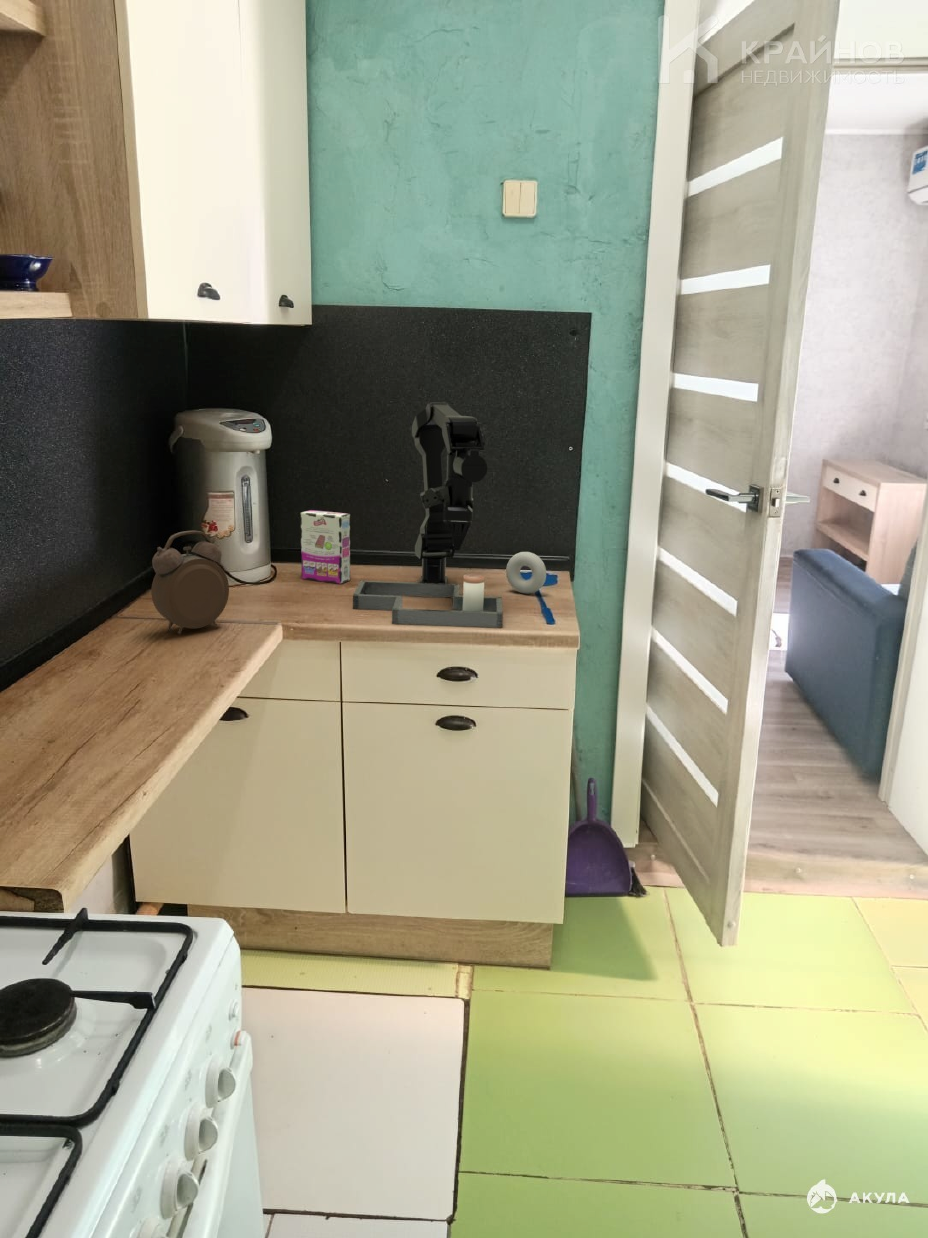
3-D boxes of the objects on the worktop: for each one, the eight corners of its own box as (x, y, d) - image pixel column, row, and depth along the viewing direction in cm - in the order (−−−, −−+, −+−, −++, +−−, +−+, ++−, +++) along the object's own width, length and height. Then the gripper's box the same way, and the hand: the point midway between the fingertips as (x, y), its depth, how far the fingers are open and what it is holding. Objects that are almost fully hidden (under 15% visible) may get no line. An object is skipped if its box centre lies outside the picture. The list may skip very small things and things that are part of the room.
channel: (360, 592, 227) (360, 580, 226) (500, 598, 227) (501, 585, 226) (346, 621, 205) (346, 608, 204) (502, 627, 204) (502, 613, 203)
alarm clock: (213, 619, 203) (209, 523, 198) (232, 627, 199) (229, 529, 193) (148, 632, 194) (142, 532, 188) (166, 641, 189) (160, 538, 183)
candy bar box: (351, 580, 238) (351, 513, 234) (341, 584, 234) (341, 516, 229) (311, 574, 242) (310, 508, 238) (300, 579, 238) (299, 511, 233)
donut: (547, 594, 231) (549, 553, 228) (542, 598, 228) (544, 555, 225) (508, 588, 235) (510, 547, 232) (502, 591, 232) (504, 550, 229)
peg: (462, 612, 213) (463, 572, 210) (483, 613, 213) (484, 573, 210) (461, 618, 208) (463, 577, 206) (483, 619, 208) (484, 578, 206)
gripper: (425, 468, 223) (424, 535, 228) (420, 480, 205) (418, 553, 210) (474, 470, 223) (472, 537, 227) (473, 482, 205) (470, 555, 209)
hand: (457, 545), depth 218 cm, fingers open, 9 cm apart
